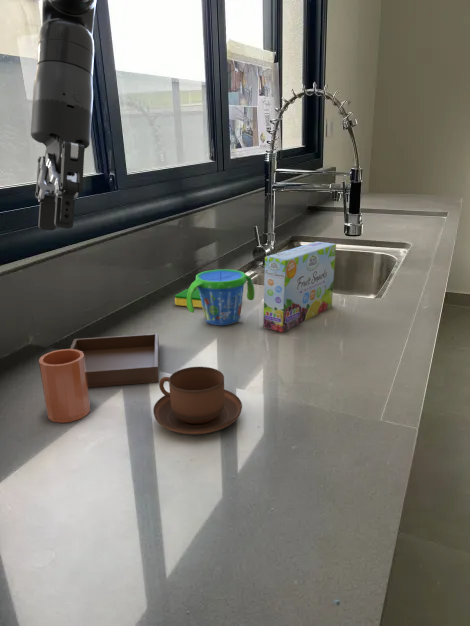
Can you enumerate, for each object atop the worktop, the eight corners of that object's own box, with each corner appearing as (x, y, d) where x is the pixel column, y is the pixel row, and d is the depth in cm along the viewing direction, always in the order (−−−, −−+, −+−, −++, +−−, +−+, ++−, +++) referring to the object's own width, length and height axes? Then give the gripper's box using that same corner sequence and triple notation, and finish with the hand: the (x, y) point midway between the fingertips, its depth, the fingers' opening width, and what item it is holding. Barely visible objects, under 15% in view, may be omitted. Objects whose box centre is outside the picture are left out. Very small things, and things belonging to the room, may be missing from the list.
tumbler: (43, 424, 67) (34, 367, 65) (52, 404, 73) (44, 350, 70) (87, 420, 68) (80, 364, 65) (92, 400, 73) (86, 347, 71)
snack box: (285, 334, 98) (286, 259, 94) (262, 328, 102) (262, 256, 97) (334, 307, 114) (337, 242, 110) (312, 303, 118) (314, 239, 113)
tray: (60, 389, 77) (57, 374, 76) (75, 352, 91) (74, 338, 90) (158, 382, 79) (157, 366, 78) (159, 346, 93) (158, 333, 92)
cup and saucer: (142, 440, 63) (138, 397, 61) (167, 396, 74) (165, 358, 72) (235, 446, 62) (234, 401, 60) (246, 399, 73) (246, 361, 71)
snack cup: (197, 334, 99) (194, 285, 96) (179, 319, 108) (176, 274, 105) (265, 322, 105) (265, 275, 102) (243, 308, 114) (243, 265, 111)
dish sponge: (188, 297, 124) (187, 287, 123) (239, 302, 119) (239, 292, 119) (174, 305, 118) (174, 295, 117) (228, 311, 113) (228, 300, 112)
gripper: (21, 111, 70) (14, 227, 71) (47, 84, 58) (38, 222, 59) (75, 125, 74) (67, 234, 75) (108, 102, 63) (99, 231, 64)
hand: (54, 228), depth 67 cm, fingers open, 8 cm apart
